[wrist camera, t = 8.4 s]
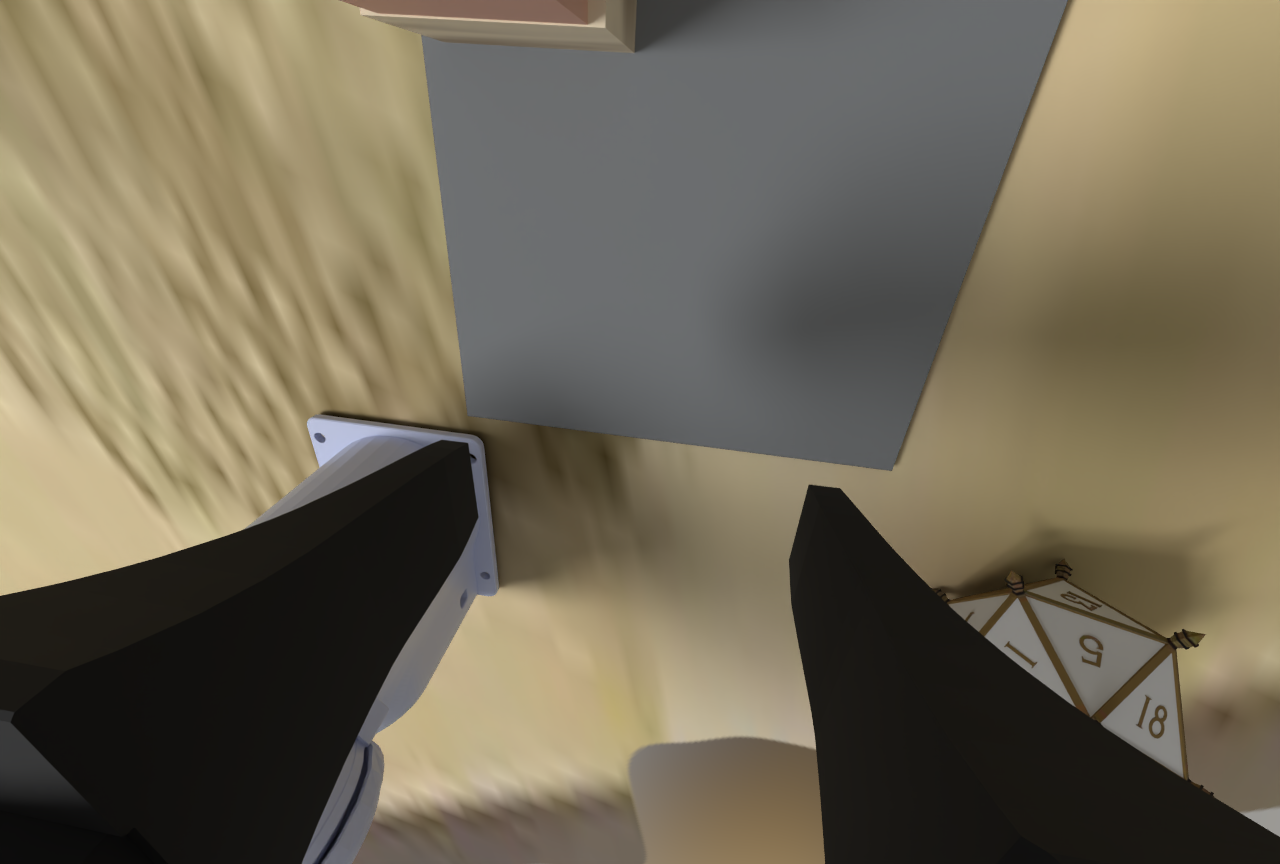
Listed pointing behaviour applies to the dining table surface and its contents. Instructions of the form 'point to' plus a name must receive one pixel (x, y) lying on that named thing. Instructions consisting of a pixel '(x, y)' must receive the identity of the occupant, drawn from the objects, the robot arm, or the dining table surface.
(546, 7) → the terracotta block
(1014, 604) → the game die
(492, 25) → the maple block
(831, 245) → the mat
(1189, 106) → the dining table surface
